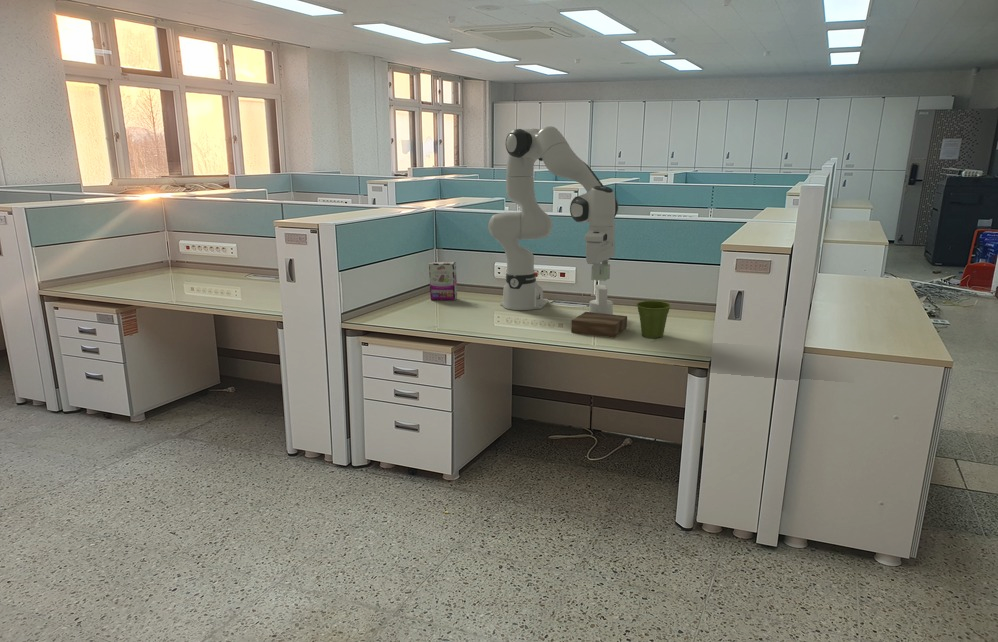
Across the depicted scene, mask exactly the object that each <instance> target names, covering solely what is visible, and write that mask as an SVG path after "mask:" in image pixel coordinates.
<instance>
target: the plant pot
mask: <svg viewBox="0 0 998 642" xmlns="http://www.w3.org/2000/svg"><path fill="white" fill-rule="evenodd" d="M635 306H636V307H637V310H638V311H637V312H638V315H639V321H640V322H639V323H640V328H641V335H642V337H645V338H647V339H657V338H662V337H663V336H664V333H665V328H666V323H667V317H668V314H669V312H670V308H671V307H672V303H670V302H667V301H660V300H643V301H638V302H637V303H636V304H635Z"/></svg>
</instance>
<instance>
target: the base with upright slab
mask: <svg viewBox="0 0 998 642" xmlns="http://www.w3.org/2000/svg"><path fill="white" fill-rule="evenodd" d="M588 306H589V307H588V309H589V311H588V312H593V313H602V314H612V315H614V314H613V313H614V312H613V311H614V310H613V309H614V301H612V300H609V299H608V288H607V286H605V285H604V284H596V285H595V299H593V300H590V301H589V305H588Z"/></svg>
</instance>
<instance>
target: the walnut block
mask: <svg viewBox="0 0 998 642" xmlns="http://www.w3.org/2000/svg"><path fill="white" fill-rule="evenodd" d="M570 323H571V324H570V327H571V329H570V333H572V334H578V335H579V334H580V335H586V336H588V335H589V336H597V337H604V338H612V339H615V338H617V336H619V335H620V334H621V333H624V331H626V329H628V316H627V315H619V314H613V315H612V314H602V313H593V312H589V311H585V312H583V313H581V314H579V315H578V316H575V317H574V318H572V319H571V322H570Z"/></svg>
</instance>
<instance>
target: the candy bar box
mask: <svg viewBox="0 0 998 642" xmlns="http://www.w3.org/2000/svg"><path fill="white" fill-rule="evenodd" d="M428 271H429V292H430V300H431V301H456V300H458V288H457V287H458V286H457V285H458V284H457V283H458V278H457V262H456V261H431V262H429V263H428Z"/></svg>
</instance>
